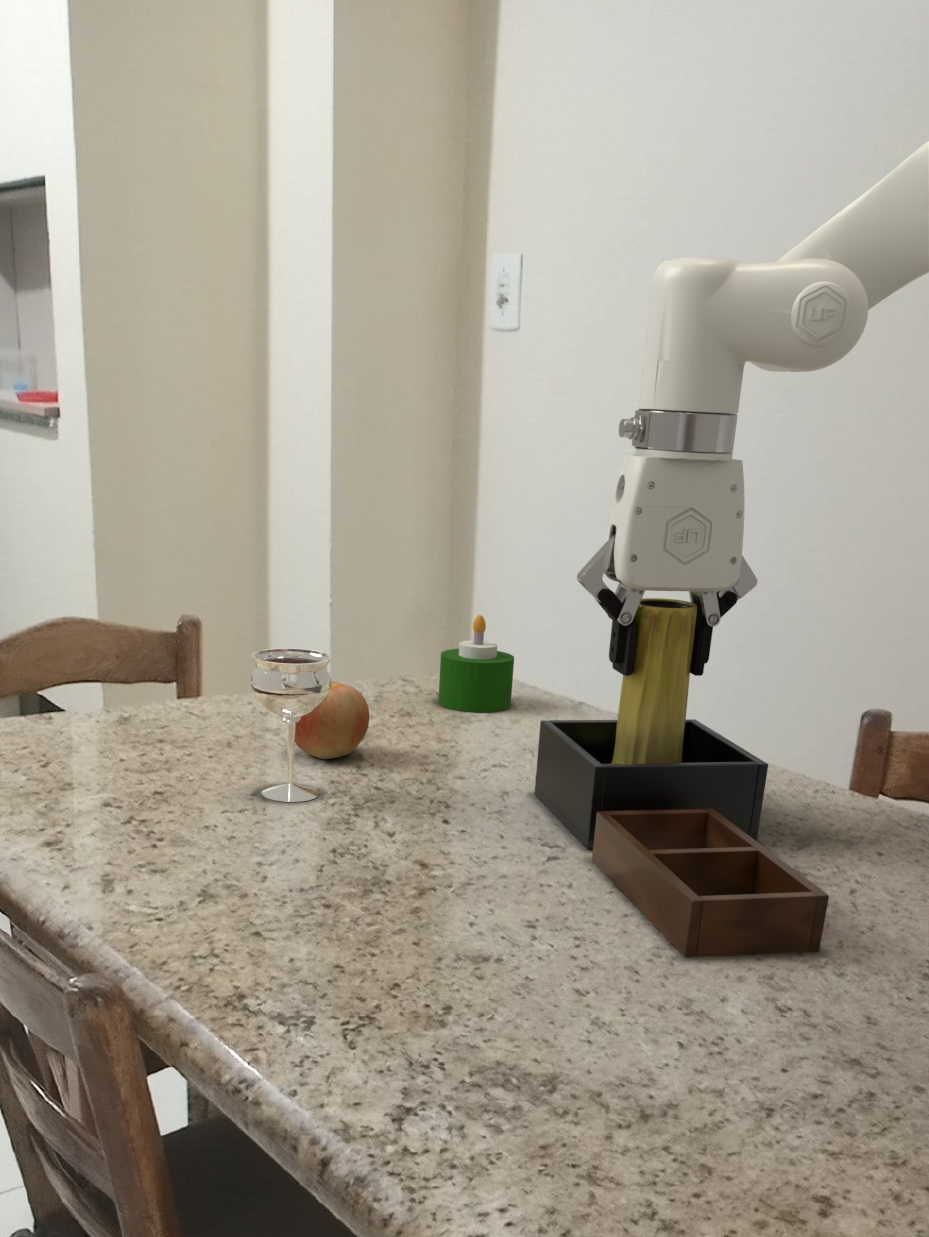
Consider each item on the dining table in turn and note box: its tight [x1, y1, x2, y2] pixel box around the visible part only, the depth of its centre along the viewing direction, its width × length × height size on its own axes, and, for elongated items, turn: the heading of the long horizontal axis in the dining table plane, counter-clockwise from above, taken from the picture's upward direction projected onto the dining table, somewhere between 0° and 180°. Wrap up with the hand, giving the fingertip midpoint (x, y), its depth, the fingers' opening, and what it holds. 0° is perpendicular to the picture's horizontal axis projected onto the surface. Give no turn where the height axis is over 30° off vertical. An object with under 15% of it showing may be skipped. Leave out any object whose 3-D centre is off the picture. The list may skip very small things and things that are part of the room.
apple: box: [295, 681, 370, 760], centre depth 124 cm, size 8×8×8 cm
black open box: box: [534, 718, 769, 850], centre depth 110 cm, size 15×15×7 cm
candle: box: [437, 614, 515, 713], centre depth 146 cm, size 8×8×10 cm
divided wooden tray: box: [591, 809, 830, 958], centre depth 93 cm, size 10×18×4 cm, turn 12°
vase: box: [611, 597, 697, 764], centre depth 107 cm, size 6×6×14 cm
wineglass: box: [250, 647, 332, 803], centre depth 111 cm, size 7×7×12 cm
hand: (657, 669), depth 106 cm, fingers closed on vase, 5 cm apart
